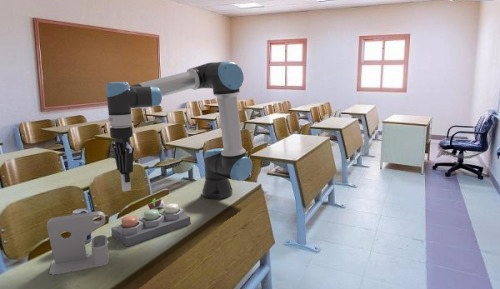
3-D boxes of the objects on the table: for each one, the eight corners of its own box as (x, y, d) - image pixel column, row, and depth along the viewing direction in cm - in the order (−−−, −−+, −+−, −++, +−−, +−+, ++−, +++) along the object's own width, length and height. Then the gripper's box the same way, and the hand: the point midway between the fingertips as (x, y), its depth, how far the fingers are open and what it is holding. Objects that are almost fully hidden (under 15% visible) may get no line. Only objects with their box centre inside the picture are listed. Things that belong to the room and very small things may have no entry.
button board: (173, 215, 155) (172, 204, 154) (190, 223, 146) (190, 212, 145) (111, 235, 137) (110, 222, 136) (127, 246, 127) (126, 233, 126)
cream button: (173, 207, 150) (173, 202, 150) (181, 211, 146) (181, 205, 146) (162, 211, 146) (161, 206, 146) (169, 215, 142) (169, 209, 142)
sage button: (154, 213, 144) (154, 208, 144) (161, 217, 140) (161, 211, 140) (141, 217, 140) (141, 212, 140) (148, 222, 136) (148, 216, 136)
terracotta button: (133, 220, 138) (132, 214, 138) (140, 224, 134) (139, 218, 134) (119, 224, 134) (118, 218, 134) (126, 229, 130) (125, 223, 130)
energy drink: (83, 245, 129) (80, 214, 126) (72, 243, 130) (68, 212, 128) (94, 239, 133) (91, 208, 131) (83, 237, 135) (80, 207, 133)
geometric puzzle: (142, 211, 154) (152, 197, 153) (147, 205, 161) (156, 191, 160) (156, 220, 155) (166, 206, 154) (160, 214, 162) (170, 201, 160)
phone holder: (109, 250, 125) (104, 201, 121) (109, 264, 116) (104, 211, 112) (53, 260, 119) (46, 209, 115) (48, 276, 109) (40, 221, 106)
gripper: (102, 125, 129) (109, 188, 134) (118, 129, 120) (124, 196, 124) (122, 123, 134) (128, 184, 139) (139, 126, 125) (144, 191, 129)
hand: (126, 190), depth 131 cm, fingers closed
